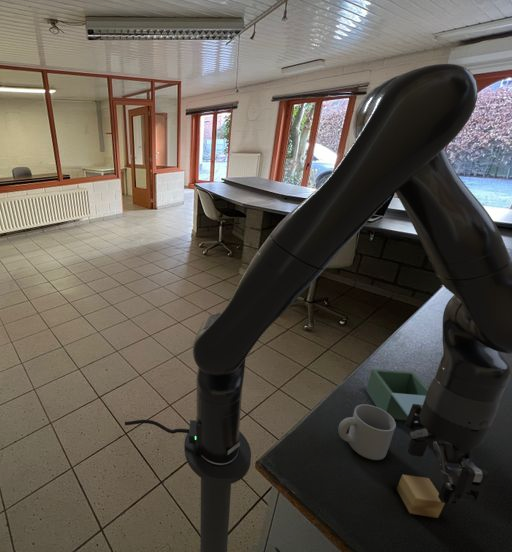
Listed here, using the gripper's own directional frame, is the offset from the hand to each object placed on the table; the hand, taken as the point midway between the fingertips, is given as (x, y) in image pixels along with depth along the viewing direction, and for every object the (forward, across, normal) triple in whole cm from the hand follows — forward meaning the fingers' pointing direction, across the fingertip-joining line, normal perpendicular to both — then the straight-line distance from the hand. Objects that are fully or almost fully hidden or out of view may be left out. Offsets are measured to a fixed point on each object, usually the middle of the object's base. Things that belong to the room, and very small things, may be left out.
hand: (429, 476), depth 53 cm
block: (+8, 0, 0) cm, 8 cm away
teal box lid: (0, -16, +9) cm, 18 cm away
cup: (+8, -12, -5) cm, 15 cm away
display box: (+8, -26, +9) cm, 28 cm away
